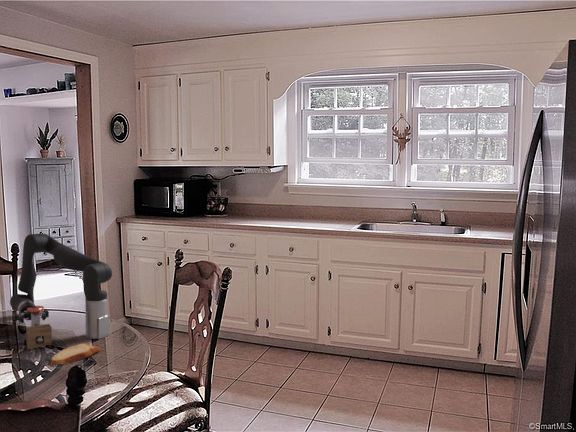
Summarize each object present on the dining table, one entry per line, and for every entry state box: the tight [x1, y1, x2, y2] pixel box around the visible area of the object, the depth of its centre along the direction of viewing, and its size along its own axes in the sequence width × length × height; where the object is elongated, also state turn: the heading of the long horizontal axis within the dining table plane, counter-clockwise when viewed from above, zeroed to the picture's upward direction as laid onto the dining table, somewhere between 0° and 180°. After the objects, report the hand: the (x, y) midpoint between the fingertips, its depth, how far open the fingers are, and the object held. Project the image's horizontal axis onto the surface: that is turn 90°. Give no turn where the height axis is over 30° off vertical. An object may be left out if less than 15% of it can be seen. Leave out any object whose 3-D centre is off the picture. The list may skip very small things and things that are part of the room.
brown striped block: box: [25, 323, 53, 351], centre depth 219 cm, size 5×9×8 cm, turn 125°
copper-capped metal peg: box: [27, 305, 45, 343], centre depth 222 cm, size 14×6×14 cm, turn 35°
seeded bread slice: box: [49, 342, 101, 365], centre depth 210 cm, size 18×18×4 cm
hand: (33, 319), depth 229 cm, fingers open, 8 cm apart
